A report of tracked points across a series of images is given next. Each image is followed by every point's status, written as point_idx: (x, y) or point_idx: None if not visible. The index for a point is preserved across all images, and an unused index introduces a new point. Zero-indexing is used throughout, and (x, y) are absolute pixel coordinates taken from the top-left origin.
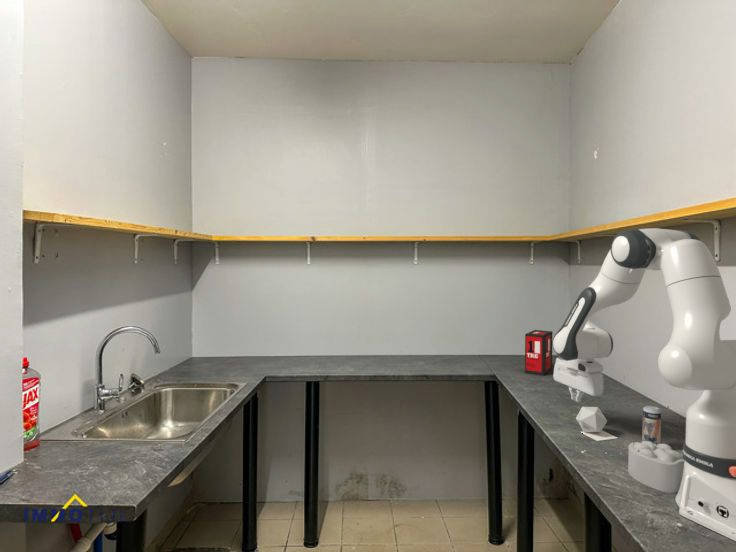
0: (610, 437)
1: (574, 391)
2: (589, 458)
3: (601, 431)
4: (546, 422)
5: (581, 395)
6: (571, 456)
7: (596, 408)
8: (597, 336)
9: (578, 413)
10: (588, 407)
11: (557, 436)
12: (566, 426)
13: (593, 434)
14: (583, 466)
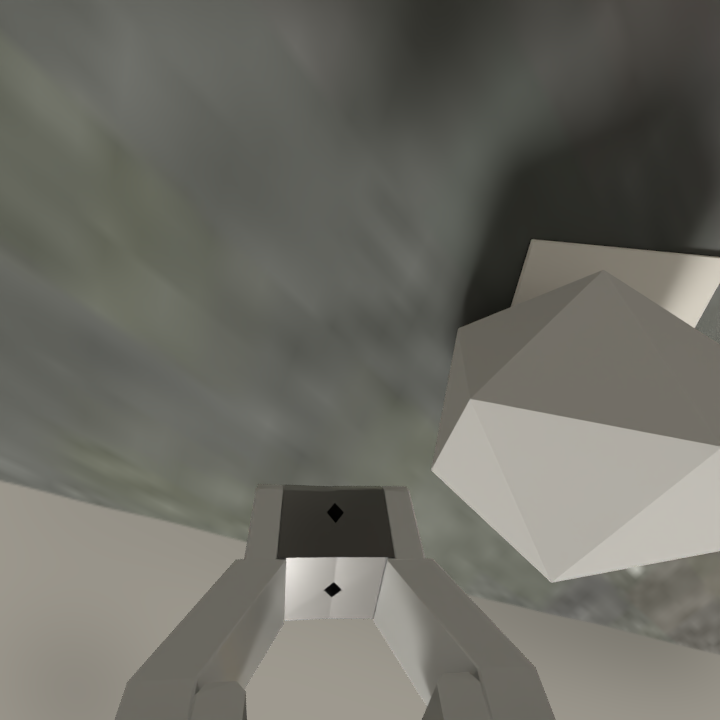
0: (682, 312)
1: (241, 648)
2: (689, 580)
3: (572, 272)
4: (225, 493)
5: (458, 611)
6: (624, 618)
7: (710, 483)
8: None
9: (474, 510)
10: (617, 542)
11: (445, 559)
12: (343, 428)
13: None
14: (699, 627)
